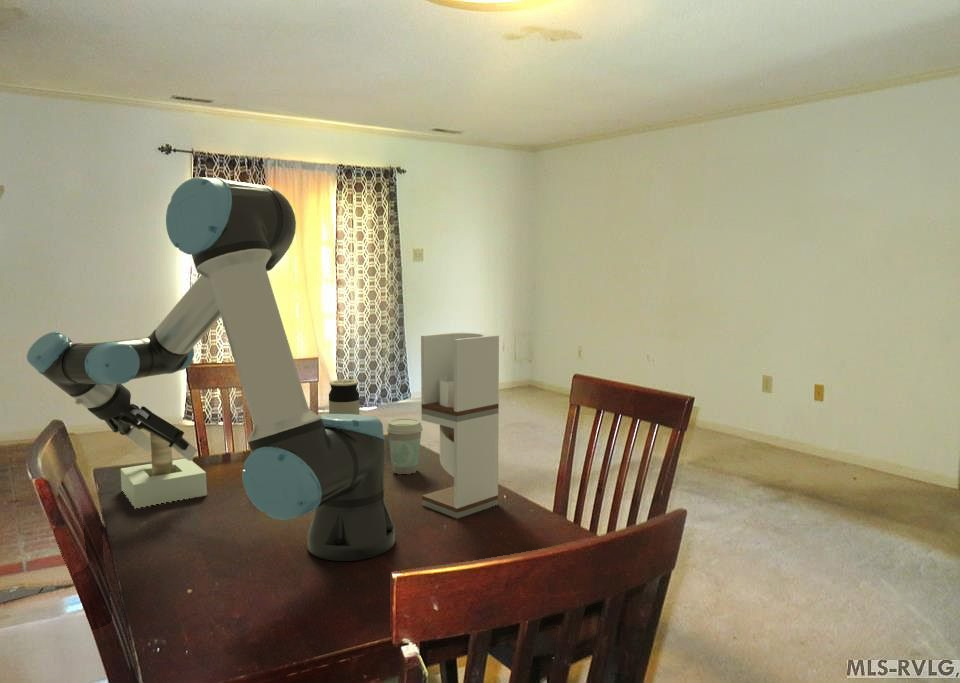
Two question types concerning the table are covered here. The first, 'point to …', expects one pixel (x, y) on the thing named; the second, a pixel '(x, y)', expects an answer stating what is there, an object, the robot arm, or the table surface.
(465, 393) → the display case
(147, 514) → the table surface
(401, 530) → the table surface
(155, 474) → the dowel
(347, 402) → the travel mug
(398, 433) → the coffee cup
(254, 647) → the table surface
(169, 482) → the socket block
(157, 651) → the table surface
